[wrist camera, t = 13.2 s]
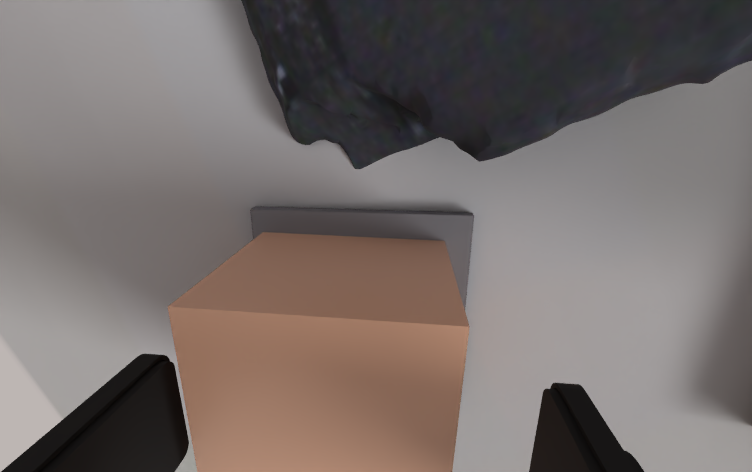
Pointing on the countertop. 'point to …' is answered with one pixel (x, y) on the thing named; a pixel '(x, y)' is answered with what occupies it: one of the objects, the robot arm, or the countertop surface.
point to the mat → (377, 228)
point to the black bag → (481, 65)
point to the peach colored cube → (324, 356)
